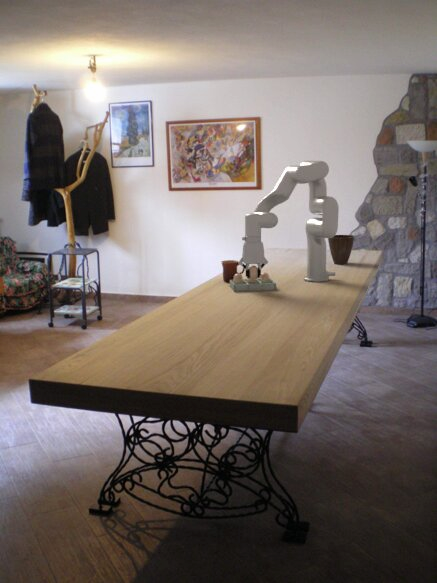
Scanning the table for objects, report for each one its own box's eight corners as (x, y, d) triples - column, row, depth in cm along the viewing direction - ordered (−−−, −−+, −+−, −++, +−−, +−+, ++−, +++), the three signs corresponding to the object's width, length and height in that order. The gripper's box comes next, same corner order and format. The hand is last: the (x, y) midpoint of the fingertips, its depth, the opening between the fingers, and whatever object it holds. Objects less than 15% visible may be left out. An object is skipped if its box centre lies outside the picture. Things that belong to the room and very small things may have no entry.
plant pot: (322, 262, 387) (322, 235, 383) (343, 260, 393) (344, 233, 389) (337, 266, 373) (337, 238, 370) (358, 264, 380) (359, 236, 376)
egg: (258, 279, 313) (258, 266, 312) (249, 279, 312) (249, 266, 311) (256, 277, 317) (256, 264, 316) (247, 277, 317) (247, 265, 315)
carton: (270, 284, 327) (270, 270, 326) (276, 289, 314) (275, 275, 312) (229, 286, 325) (229, 272, 323) (234, 291, 311) (233, 277, 310)
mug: (220, 283, 333) (220, 263, 331) (222, 279, 342) (222, 260, 340) (244, 283, 332) (244, 262, 330) (245, 279, 340) (245, 260, 338)
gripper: (236, 241, 306) (237, 279, 310) (272, 240, 308) (272, 278, 312) (234, 239, 314) (234, 276, 317) (269, 238, 316) (268, 275, 319)
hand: (253, 277), depth 315 cm, fingers closed on egg, 4 cm apart
